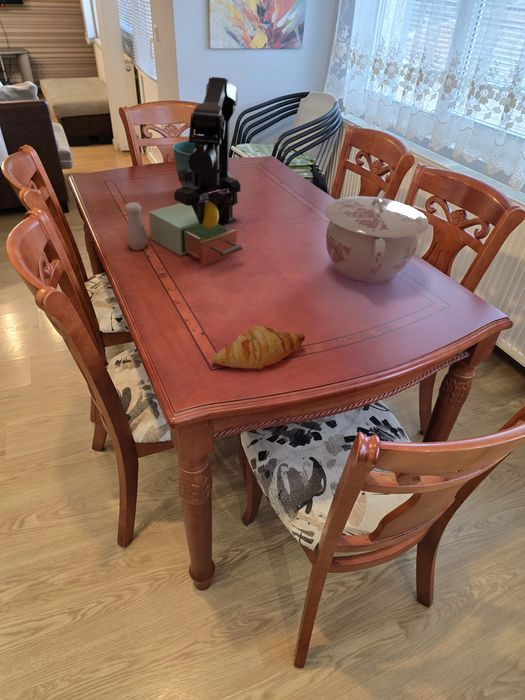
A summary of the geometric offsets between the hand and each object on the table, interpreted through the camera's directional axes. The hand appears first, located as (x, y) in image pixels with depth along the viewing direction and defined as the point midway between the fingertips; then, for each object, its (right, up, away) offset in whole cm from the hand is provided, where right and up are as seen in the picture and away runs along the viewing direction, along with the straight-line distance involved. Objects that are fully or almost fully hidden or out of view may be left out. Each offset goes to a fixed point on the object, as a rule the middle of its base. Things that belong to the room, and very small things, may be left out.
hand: (208, 221), depth 129 cm
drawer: (0, -8, +5) cm, 10 cm away
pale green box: (-9, -3, +13) cm, 16 cm away
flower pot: (-8, +22, +45) cm, 50 cm away
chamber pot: (+44, -13, +4) cm, 46 cm away
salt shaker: (-22, -6, +8) cm, 24 cm away
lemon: (0, -2, +2) cm, 3 cm away
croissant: (+14, -37, -29) cm, 49 cm away
